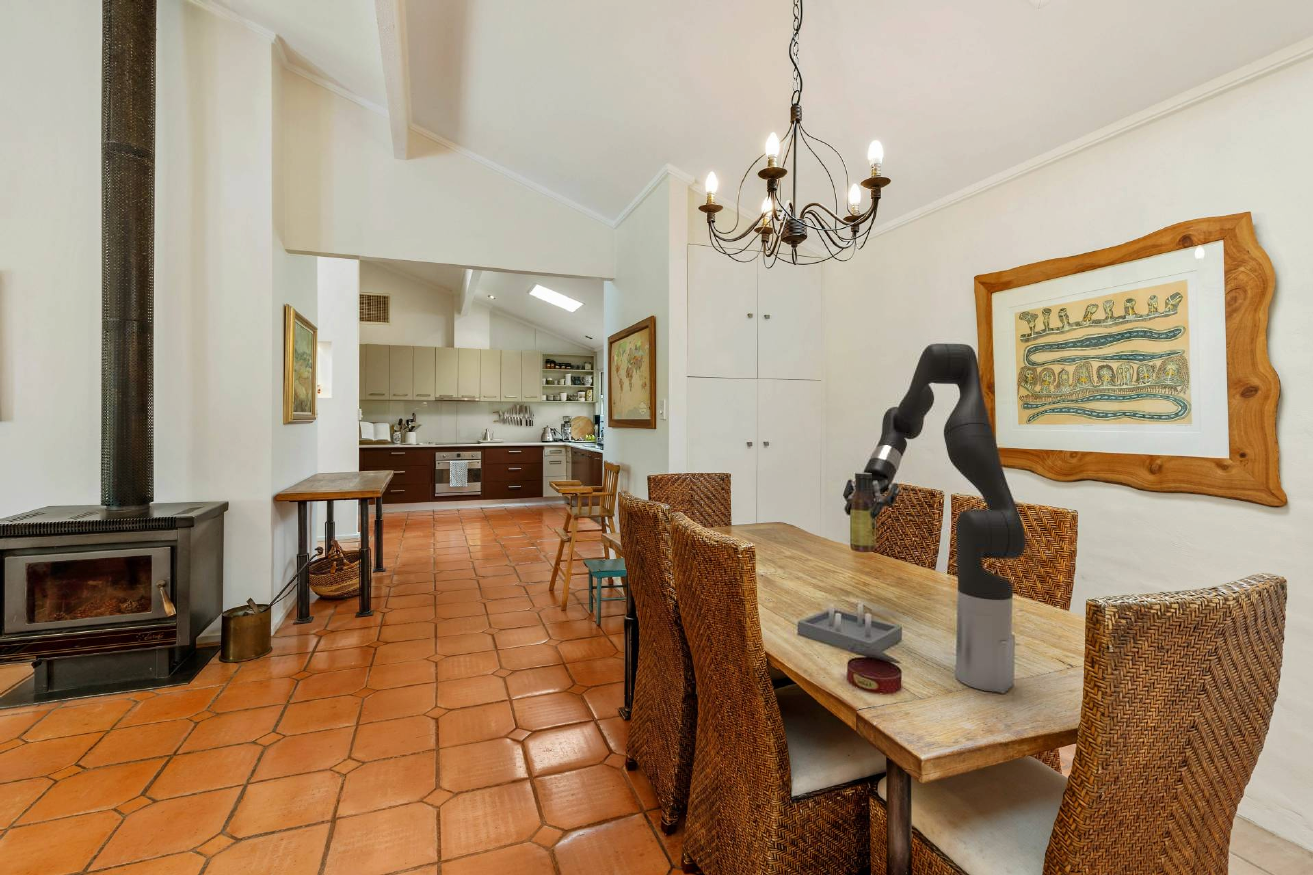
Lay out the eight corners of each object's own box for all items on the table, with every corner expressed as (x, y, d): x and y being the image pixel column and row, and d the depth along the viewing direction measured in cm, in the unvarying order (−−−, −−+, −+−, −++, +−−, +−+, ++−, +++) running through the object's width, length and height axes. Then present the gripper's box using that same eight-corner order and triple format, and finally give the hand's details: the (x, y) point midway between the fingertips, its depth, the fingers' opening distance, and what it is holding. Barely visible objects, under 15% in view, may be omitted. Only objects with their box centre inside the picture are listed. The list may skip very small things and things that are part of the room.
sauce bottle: (877, 554, 144) (879, 474, 144) (851, 552, 145) (852, 473, 145) (873, 548, 151) (874, 472, 150) (848, 547, 152) (849, 471, 151)
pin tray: (901, 639, 133) (902, 611, 133) (870, 657, 123) (870, 627, 123) (831, 619, 146) (831, 594, 146) (797, 633, 136) (798, 606, 136)
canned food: (844, 701, 113) (829, 648, 117) (890, 691, 115) (873, 639, 119) (872, 699, 103) (854, 640, 107) (922, 688, 105) (902, 631, 109)
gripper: (852, 455, 158) (828, 502, 150) (905, 458, 147) (882, 508, 139) (861, 473, 161) (839, 520, 154) (913, 477, 151) (892, 528, 143)
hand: (859, 514), depth 147 cm, fingers closed on sauce bottle, 6 cm apart
